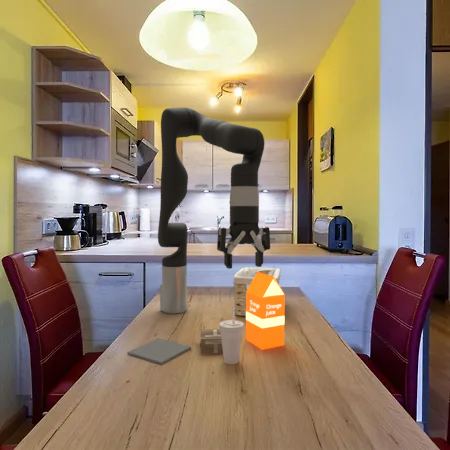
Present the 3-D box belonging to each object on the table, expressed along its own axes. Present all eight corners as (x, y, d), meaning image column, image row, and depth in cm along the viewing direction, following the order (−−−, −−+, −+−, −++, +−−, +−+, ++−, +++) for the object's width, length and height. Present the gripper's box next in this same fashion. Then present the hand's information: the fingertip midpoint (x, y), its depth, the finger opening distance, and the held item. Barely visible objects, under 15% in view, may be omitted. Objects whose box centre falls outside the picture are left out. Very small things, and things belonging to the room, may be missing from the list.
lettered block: (200, 342, 105) (200, 328, 105) (228, 342, 106) (228, 328, 105) (200, 354, 97) (200, 338, 97) (230, 353, 98) (230, 338, 97)
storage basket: (242, 300, 153) (242, 265, 153) (281, 302, 150) (281, 267, 149) (231, 317, 130) (231, 276, 129) (277, 320, 127) (277, 278, 126)
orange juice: (261, 350, 100) (262, 277, 99) (245, 339, 108) (245, 272, 107) (284, 345, 103) (285, 275, 102) (267, 335, 111) (267, 270, 110)
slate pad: (127, 354, 96) (127, 351, 96) (158, 340, 107) (158, 338, 107) (161, 364, 90) (161, 362, 90) (191, 348, 100) (191, 346, 100)
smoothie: (241, 367, 89) (242, 311, 88) (216, 365, 90) (216, 309, 89) (245, 357, 95) (245, 304, 94) (221, 355, 96) (221, 302, 96)
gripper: (224, 204, 87) (224, 271, 88) (275, 204, 93) (275, 267, 94) (213, 204, 94) (213, 267, 95) (261, 205, 100) (260, 263, 101)
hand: (244, 267), depth 94 cm, fingers open, 8 cm apart
